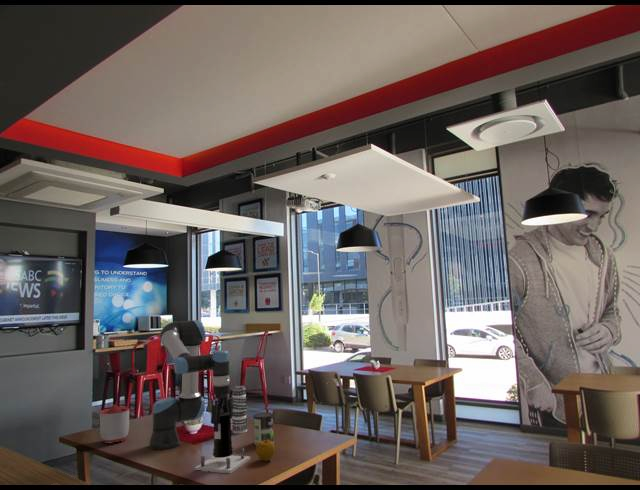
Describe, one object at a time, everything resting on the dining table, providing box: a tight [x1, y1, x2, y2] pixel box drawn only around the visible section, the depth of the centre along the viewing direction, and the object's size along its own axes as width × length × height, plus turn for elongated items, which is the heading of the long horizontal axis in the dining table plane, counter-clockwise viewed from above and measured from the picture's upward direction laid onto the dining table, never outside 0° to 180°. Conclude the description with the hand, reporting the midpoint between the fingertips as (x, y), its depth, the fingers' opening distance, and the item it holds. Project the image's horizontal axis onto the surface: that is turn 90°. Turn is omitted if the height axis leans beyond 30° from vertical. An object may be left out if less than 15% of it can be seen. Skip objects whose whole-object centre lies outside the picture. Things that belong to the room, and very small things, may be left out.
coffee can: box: [252, 412, 275, 446], centre depth 243 cm, size 10×10×14 cm
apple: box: [255, 440, 276, 462], centre depth 215 cm, size 9×9×9 cm
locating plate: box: [194, 448, 251, 474], centre depth 212 cm, size 18×18×5 cm
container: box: [212, 411, 234, 458], centre depth 213 cm, size 9×9×18 cm
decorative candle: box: [231, 385, 249, 434], centre depth 268 cm, size 9×9×25 cm
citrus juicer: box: [98, 403, 130, 443], centre depth 261 cm, size 16×17×20 cm
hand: (222, 435), depth 213 cm, fingers closed on container, 8 cm apart
